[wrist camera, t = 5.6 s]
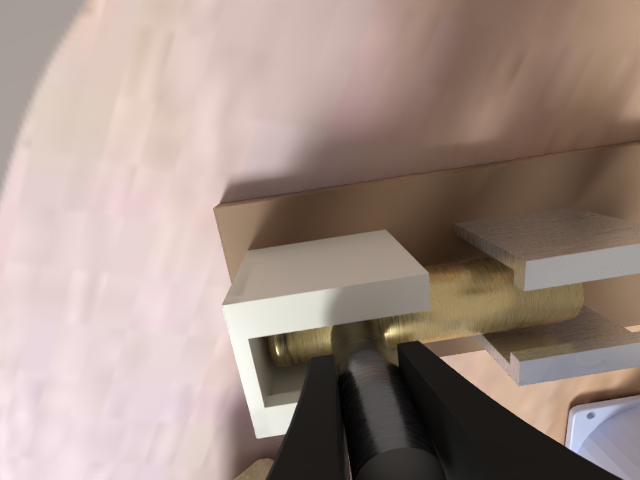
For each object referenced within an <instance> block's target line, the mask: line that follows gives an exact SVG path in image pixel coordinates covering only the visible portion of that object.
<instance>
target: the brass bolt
mask: <svg viewBox="0 0 640 480" xmlns="http://www.w3.org/2000/svg"><path fill="white" fill-rule="evenodd" d="M423 268H424V269H425V270H426V271H427V272H428V273H429V282H430V307H431V310H427V311H421V312H414V313H408V314H402V315H395V316H389V317H383V318H376V319H370V320H364V321H358V322H351V323H345V324H339V325H332V326H326V327H320V328H313V329H307V330H301V331H294V332H288V333H282V334H275V335H269V336H267V341H268V347H269V351H270V356H271V359H272V362H273V365H274V367H275V368H282V367H288V366H293V365H294V364H298V363H304V362H308V361H309V360H310V359H311V358H312V357H317V356H323V355H330V354H333V357H334V363H335V369H336V376H337V382H338V389H339V395H340V402H341V409H342V417H343V423H344V429H345V436H346V442H347V448H348V455H349V461H350V467H351V474H352V480H447V479H446V475H445V472H444V469H443V467H442V464H441V462H440V460H439V458H438V455H437V453H436V451H435V449H434V446H433V444H432V442H431V439H430V437H429V435H428V433H427V430H426V428H425V426H424V424H423V421H422V419H421V417H420V415H419V412H418V410H417V408H416V405H415V403H414V401H413V399H412V396H411V394H410V392H409V390H408V387H407V385H406V383H405V381H404V378H403V376H402V374H401V372H400V369H399V367H398V365H397V362H396V360H395V358H394V356H393V353H392V351H391V349H392V348H397V344H398V343H405V342H411V341H417V340H418V341H420V342H421V343H422V344H423V343H429V342H435V341H441V340H448V339H454V338H460V337H466V336H473V335H479V334H485V333H491V332H498V331H504V330H510V329H516V328H523V327H529V326H535V325H541V324H548V323H554V322H560V321H566V320H571V319H573V318H575V317H576V316H577V315H578V314H579V313H580V311H581V309H582V306H583V302H584V290H583V285H582V282H581V283H574V284H568V285H562V286H555V287H549V288H543V289H536V290H530V291H523V290H521V289H520V288H518V287H517V286H515V285H514V270H513V269H511V268H510V267H508V266H506V265H505V264H503V263H501V262H500V261H498V260H496V259H495V258H493V257H486V258H479V259H473V260H467V261H460V262H454V263H447V264H441V265H435V266H428V267H423Z"/></svg>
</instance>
